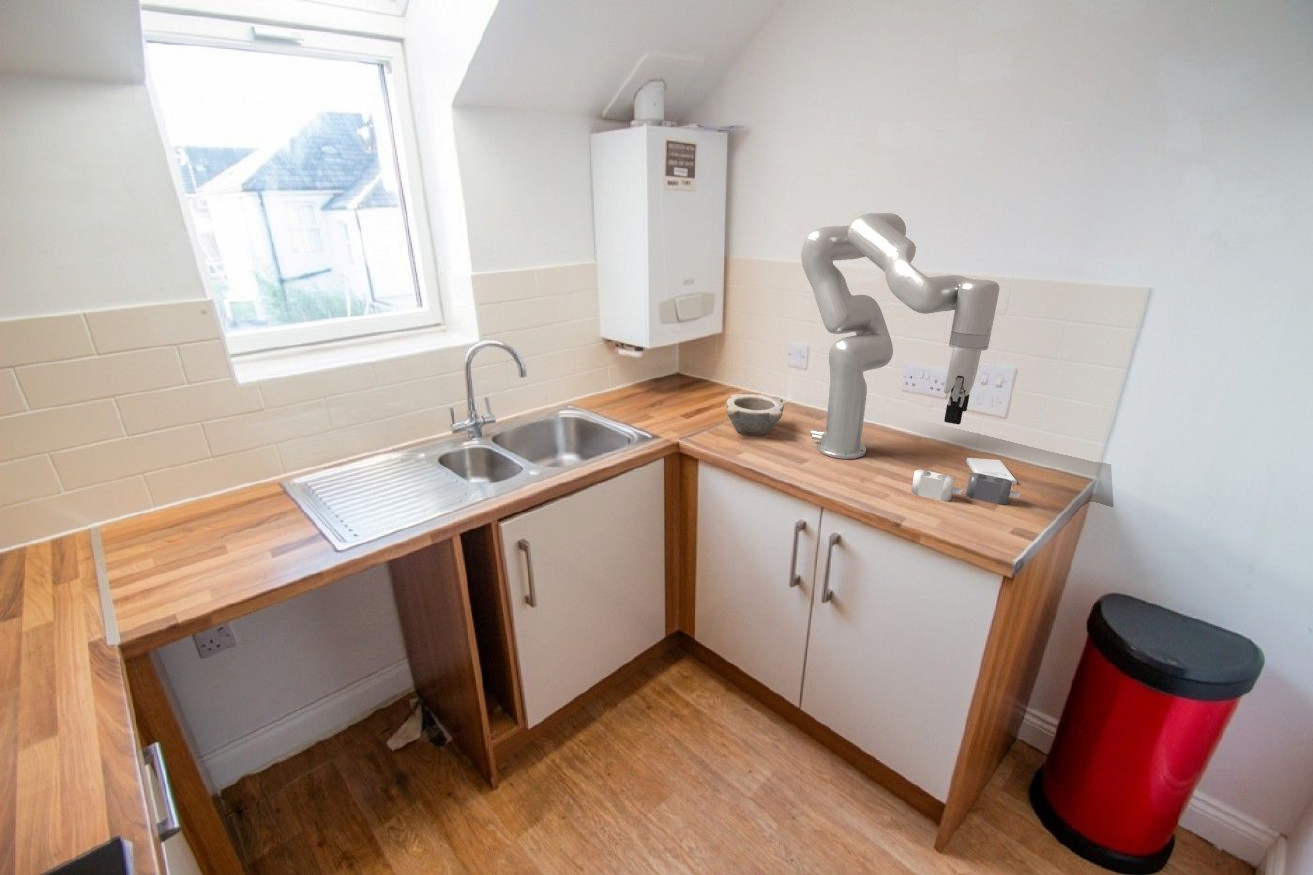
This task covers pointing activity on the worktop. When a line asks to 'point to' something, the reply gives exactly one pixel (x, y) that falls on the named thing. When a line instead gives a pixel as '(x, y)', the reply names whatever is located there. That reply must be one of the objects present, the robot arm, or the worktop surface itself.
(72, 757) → the worktop surface
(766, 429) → the mortar
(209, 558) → the worktop surface
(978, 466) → the external hard drive
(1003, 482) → the charcoal connector
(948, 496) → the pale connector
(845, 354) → the robot arm
